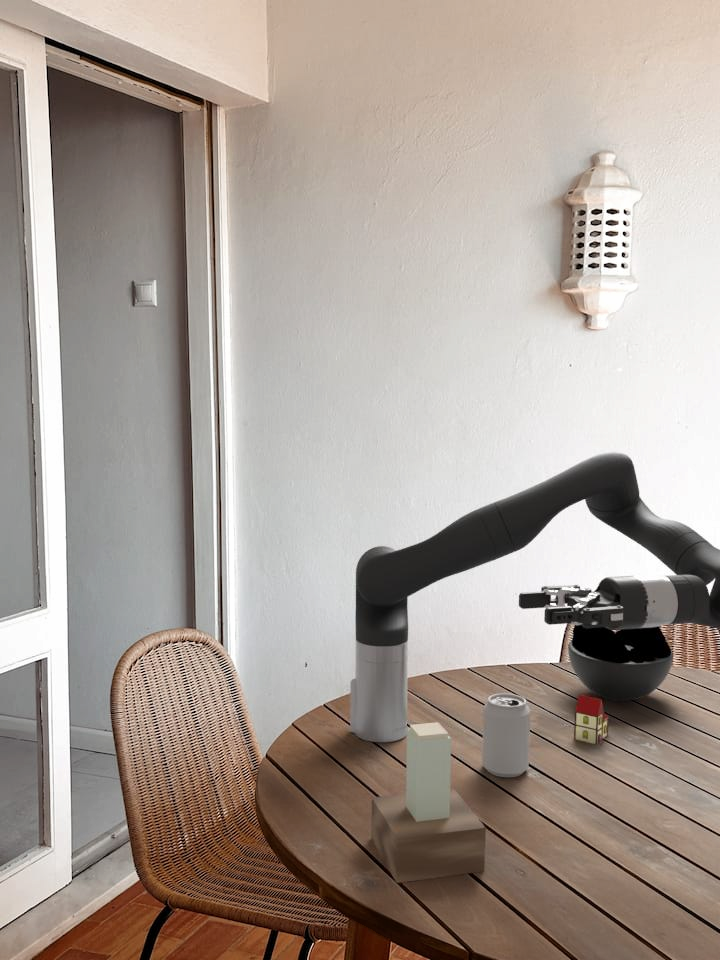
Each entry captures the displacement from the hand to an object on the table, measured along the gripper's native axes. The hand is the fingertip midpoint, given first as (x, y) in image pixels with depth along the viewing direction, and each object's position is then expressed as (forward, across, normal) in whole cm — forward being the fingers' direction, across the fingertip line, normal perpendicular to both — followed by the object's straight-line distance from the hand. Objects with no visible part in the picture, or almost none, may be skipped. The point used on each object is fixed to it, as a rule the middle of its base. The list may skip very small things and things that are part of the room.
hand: (532, 608), depth 138 cm
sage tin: (+16, +4, +26) cm, 31 cm away
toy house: (-25, -30, +33) cm, 51 cm away
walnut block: (+16, +4, +32) cm, 36 cm away
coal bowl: (-40, -45, +32) cm, 69 cm away
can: (-5, -19, +32) cm, 38 cm away
